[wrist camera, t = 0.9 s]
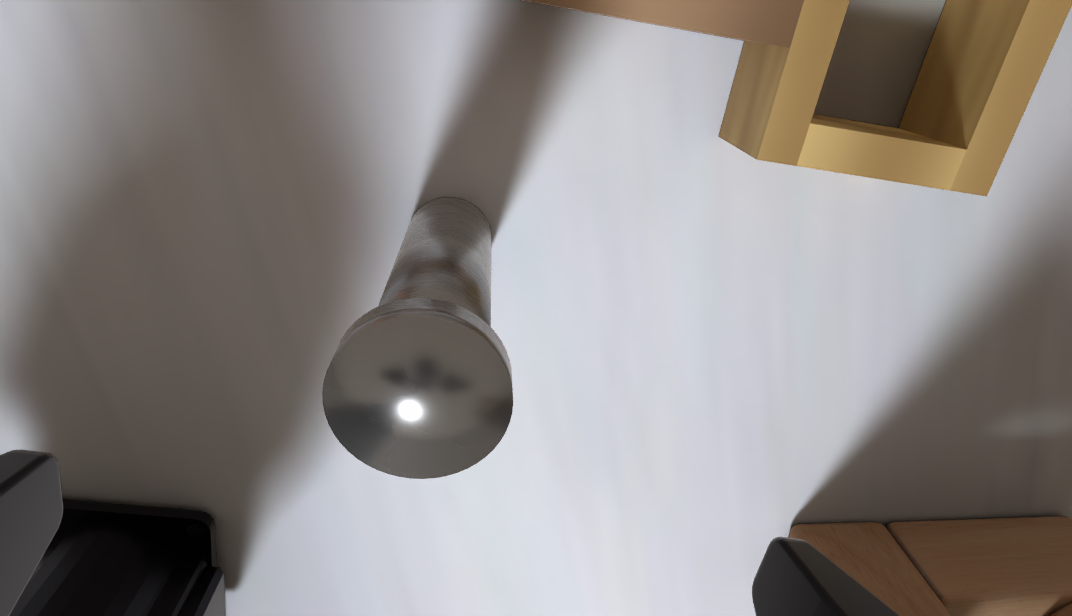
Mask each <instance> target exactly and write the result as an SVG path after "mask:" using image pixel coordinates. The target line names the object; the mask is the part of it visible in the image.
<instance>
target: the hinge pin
mask: <svg viewBox="0 0 1072 616" xmlns="http://www.w3.org/2000/svg"><path fill="white" fill-rule="evenodd" d="M491 239H492V238H491V230H490V226H489V223H488V221H487V219H486V218H485V216H484V215H483V213H482V212H481V211H480V210H479V209H478V208H477V207H476V206H474V205H473V204H471V203H469V202H467V201H465V200H462V199H459V198H454V197H443V198H437V199H434V200H432V201H430V202H427V203H426V204H424V205H423V206H422V207H421V208H419V209H418V211H417V212H416V213H415V214H414V216H413V218H412V220H411V222H410V224H409V227H408V230H407V232H406V235H405V237H404V240H403V243H402V245H401V248H400V251H399V253H398V256H397V258H396V261H395V264H394V266H393V269H392V272H391V274H390V277H389V279H388V282H387V285H386V287H385V290H384V293H383V295H382V298H381V300H380V303H379V306H378V307H376V308H374V309H372V310H371V311H369V312H368V313H366V314H364V315H363V316H362V317H360V318H359V319H358V320H357V321H356V322H355V323H354V324H353V325H352V326H351V327H350V328H349V329H348V330H347V332H346V333H345V335H344V336H343V338H342V339H341V341H340V344H339V346H338V348H337V350H336V352H335V355H334V357H333V359H332V361H331V363H330V366H329V368H328V370H327V373H326V376H325V380H324V385H323V406H324V411H325V415H326V418H327V421H328V424H329V426H330V427H331V429H332V431H333V433H334V435H335V436H336V437H337V439H338V440H339V442H340V443H341V444H342V445H343V446H344V447H345V448H346V449H347V450H348V451H349V452H350V453H351V454H352V455H354V456H355V457H356V458H357V459H359V460H360V461H362V462H363V463H365V464H367V465H369V466H371V467H373V468H375V469H377V470H379V471H382V472H385V473H387V474H391V475H395V476H399V477H406V478H417V479H426V478H437V477H443V476H447V475H451V474H454V473H457V472H460V471H462V470H465V469H467V468H469V467H471V466H473V465H474V464H476V463H478V462H479V461H480V460H482V459H483V458H485V457H486V456H487V455H488V454H489V453H490V452H491V451H492V450H493V449H494V448H495V447H496V446H497V444H498V443H499V442H500V440H501V439H502V437H503V436H504V434H505V432H506V430H507V427H508V425H509V423H510V419H511V415H512V407H513V393H512V372H511V365H510V360H509V357H508V354H507V351H506V349H505V347H504V345H503V343H502V341H501V340H500V338H499V337H498V336H497V334H496V333H495V332H494V330H493V329H492V328H491V327H490V325H491Z"/></svg>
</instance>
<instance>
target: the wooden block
mask: <svg viewBox="0 0 1072 616" xmlns="http://www.w3.org/2000/svg"><path fill="white" fill-rule="evenodd" d="M789 538H794V539H802V540H805V541H807V542H808V543H810V544H811V545H812V546H813V547H815V548H816V549H817V550H818V551H820V552H821V553H822V554H823V555H825V556H826V557H827V558H828V559H830V560H831V561H832V562H833V563H835V564H836V565H837V566H838V567H840V568H841V569H842V570H843V571H845V572H846V573H847V574H848V575H850V576H851V577H852V578H853V579H855V580H856V581H857V582H858V583H860V584H861V585H862V586H863V587H865V588H866V589H867V590H868V591H870V592H871V593H872V594H873V595H875V596H876V597H877V598H878V599H880V600H881V601H882V602H883V603H885V604H886V605H887V606H888V607H889V608H891V609H892V610H893V611H894V612H896V613H897V614H898V615H899V616H1072V519H1070V518H1068V517H1065V516H1051V517H1022V518H993V519H963V520H934V521H905V522H891V523H889V524H888V525H887V526H886V527H885V526H884V525H882V524H881V523H877V522H850V523H820V524H798V525H795V526H793V527H792V529H791V530H790V535H789Z"/></svg>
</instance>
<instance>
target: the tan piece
mask: <svg viewBox="0 0 1072 616" xmlns="http://www.w3.org/2000/svg"><path fill="white" fill-rule="evenodd" d="M522 1H528V2H533V3H539V4H544V5H550V6H555V7H561V8H566V9H572V10H577V11H583V12H588V13H594V14H600V15H605V16H611V17H616V18H622V19H627V20H633V21H638V22H644V23H649V24H655V25H660V26H666V27H671V28H677V29H682V30H688V31H693V32H699V33H704V34H710V35H715V36H721V37H726V38H732V39H737V40H743V41H744V44H743V48H742V51H741V55H740V59H739V62H738V66H737V70H736V74H735V77H734V81H733V85H732V88H731V92H730V96H729V99H728V103H727V107H726V111H725V114H724V118H723V122H722V125H721V129H720V133H719V137H720V138H722V139H724V140H725V141H727V142H729V143H730V144H732V145H734V146H735V147H737V148H739V149H740V150H742V151H744V152H745V153H747V154H749V155H750V156H752V157H754V158H755V159H757V160H763V161H769V162H776V163H782V164H788V165H794V166H801V167H807V168H813V169H819V170H826V171H832V172H838V173H844V174H851V175H857V176H863V177H869V178H876V179H882V180H888V181H895V182H901V183H907V184H913V185H920V186H926V187H932V188H938V189H945V190H951V191H957V192H963V193H970V194H976V195H982V196H987V194H988V192H989V190H990V188H991V185H992V183H993V181H994V179H995V176H996V174H997V172H998V170H999V167H1000V165H1001V163H1002V161H1003V159H1004V156H1005V154H1006V152H1007V150H1008V147H1009V145H1010V143H1011V141H1012V138H1013V136H1014V134H1015V132H1016V129H1017V127H1018V125H1019V123H1020V120H1021V118H1022V116H1023V114H1024V111H1025V109H1026V107H1027V105H1028V102H1029V100H1030V98H1031V96H1032V93H1033V91H1034V89H1035V87H1036V84H1037V82H1038V80H1039V78H1040V75H1041V73H1042V71H1043V69H1044V66H1045V64H1046V62H1047V60H1048V57H1049V55H1050V53H1051V51H1052V48H1053V46H1054V44H1055V42H1056V39H1057V37H1058V35H1059V33H1060V31H1061V28H1062V26H1063V24H1064V22H1065V19H1066V17H1067V15H1068V13H1069V10H1070V8H1071V6H1072V0H946V3H945V6H944V8H943V11H942V14H941V16H940V19H939V22H938V24H937V27H936V30H935V32H934V35H933V38H932V40H931V43H930V45H929V48H928V51H927V53H926V56H925V59H924V61H923V64H922V67H921V69H920V72H919V75H918V77H917V80H916V83H915V85H914V88H913V91H912V93H911V96H910V99H909V101H908V104H907V107H906V109H905V112H904V115H903V117H902V120H901V123H900V125H899V128H893V127H888V126H882V125H876V124H870V123H864V122H858V121H852V120H846V119H841V118H835V117H829V116H823V115H817V114H813V113H814V110H815V107H816V104H817V101H818V98H819V95H820V92H821V89H822V85H823V82H824V79H825V76H826V73H827V70H828V67H829V64H830V61H831V58H832V54H833V51H834V48H835V45H836V42H837V39H838V36H839V33H840V30H841V26H842V23H843V20H844V17H845V14H846V11H847V8H848V5H849V2H850V0H522Z"/></svg>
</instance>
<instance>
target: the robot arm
mask: <svg viewBox="0 0 1072 616" xmlns="http://www.w3.org/2000/svg"><path fill="white" fill-rule="evenodd" d="M194 525H198V526H200V527H201V528H198V527H195V526H194ZM752 598H753V604H754V608H755V613H756V616H899V615H898V614H897V613H896V612H894V611H893V610H892V609H891V608H889V607H888V606H887V605H886V604H885V603H883V602H882V601H881V600H880V599H878V598H877V597H876V596H875V595H873V594H872V593H871V592H870V591H868V590H867V589H866V588H865V587H863V586H862V585H861V584H860V583H858V582H857V581H856V580H855V579H853V578H852V577H851V576H850V575H848V574H847V573H846V572H845V571H843V570H842V569H841V568H840V567H838V566H837V565H836V564H835V563H833V562H832V561H831V560H830V559H828V558H827V557H826V556H825V555H823V554H822V553H821V552H820V551H818V550H817V549H816V548H815V547H813V546H812V545H811V544H810V543H808V542H807V541H805V540H802V539H794V538H786V537H777V538H775V539H773V540H772V541H771V542H770V544H769V546H768V548H767V551H766V553H765V555H764V558H763V560H762V562H761V565H760V567H759V569H758V571H757V574H756V576H755V578H754V582H753V586H752ZM0 616H225V584H224V573H223V571H222V570H221V568H220V567H217V561H216V534H215V522H214V519H213V518H212V516H211V515H209V514H207V513H206V512H202V511H196V510H184V509H172V508H161V507H149V506H138V505H126V504H114V503H103V502H91V501H79V500H68V499H62V491H61V481H60V472H59V464H58V460H57V459H56V457H55V456H54V455H52V454H50V453H46V452H37V451H28V450H12V451H10V452H7V453H4V454H2V455H0Z"/></svg>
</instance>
